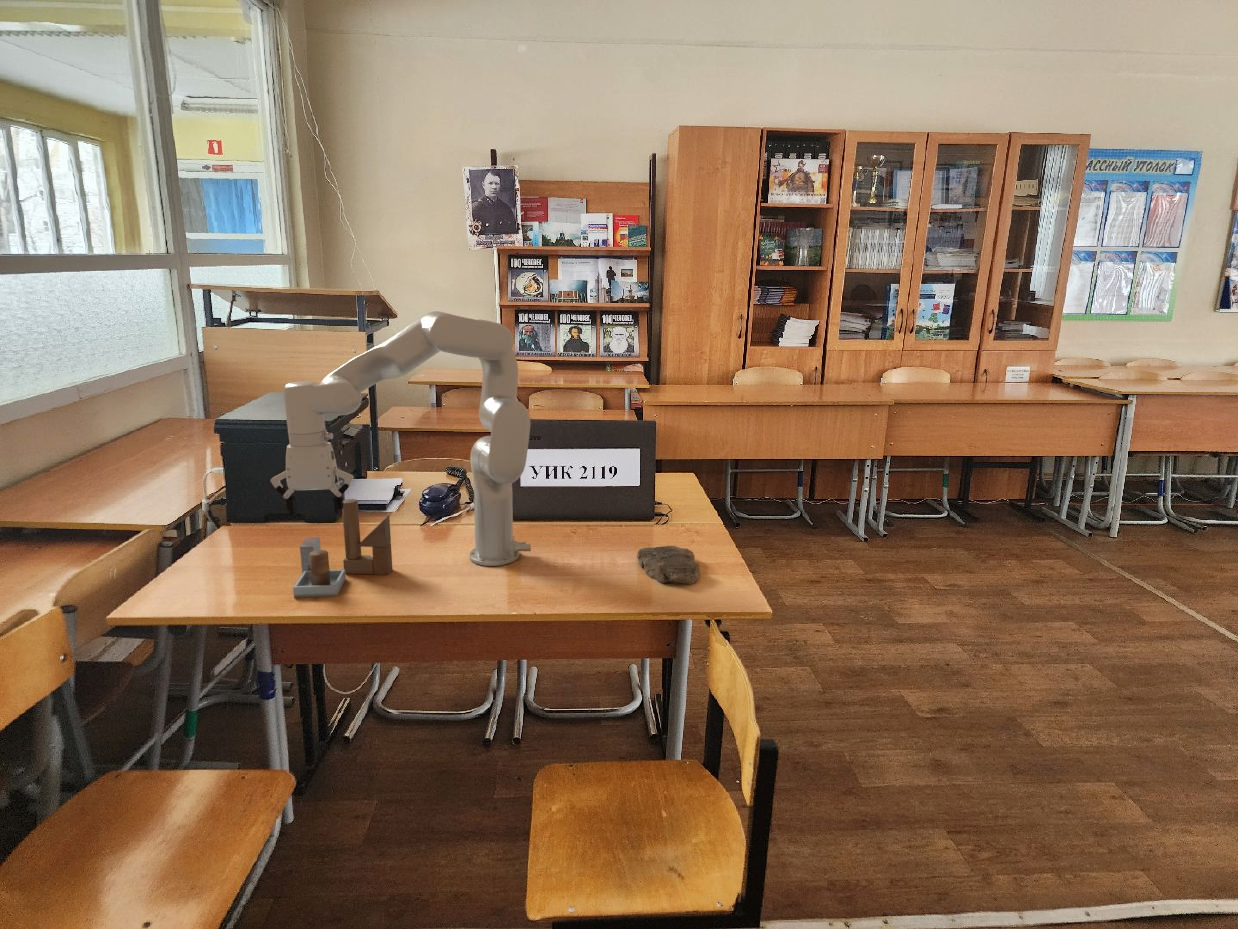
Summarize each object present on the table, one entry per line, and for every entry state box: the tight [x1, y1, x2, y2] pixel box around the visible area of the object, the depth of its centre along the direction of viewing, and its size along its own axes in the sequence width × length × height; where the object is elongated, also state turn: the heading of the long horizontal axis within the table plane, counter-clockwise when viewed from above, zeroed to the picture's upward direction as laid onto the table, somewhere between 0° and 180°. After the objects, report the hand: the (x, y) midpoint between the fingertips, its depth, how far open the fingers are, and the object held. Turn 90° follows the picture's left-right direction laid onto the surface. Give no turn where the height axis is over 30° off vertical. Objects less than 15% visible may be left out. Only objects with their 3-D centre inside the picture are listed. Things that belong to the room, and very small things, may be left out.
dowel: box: [309, 549, 330, 586], centre depth 170 cm, size 4×4×8 cm
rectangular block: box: [299, 537, 322, 575], centre depth 179 cm, size 3×6×8 cm, turn 8°
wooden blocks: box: [341, 498, 393, 576], centre depth 179 cm, size 4×11×18 cm, turn 89°
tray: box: [292, 569, 347, 599], centre depth 171 cm, size 9×9×2 cm
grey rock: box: [636, 545, 701, 585], centre depth 185 cm, size 14×5×20 cm
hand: (316, 513), depth 167 cm, fingers open, 9 cm apart
